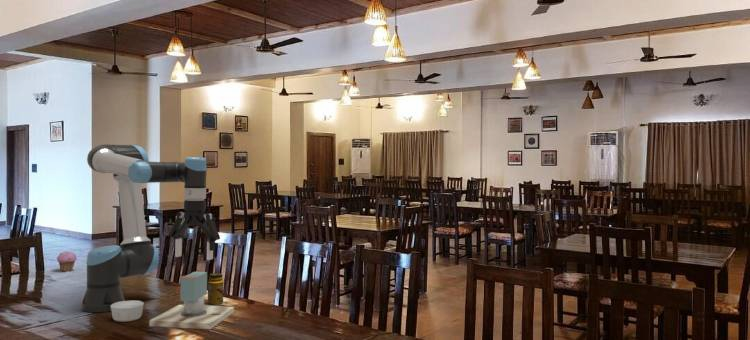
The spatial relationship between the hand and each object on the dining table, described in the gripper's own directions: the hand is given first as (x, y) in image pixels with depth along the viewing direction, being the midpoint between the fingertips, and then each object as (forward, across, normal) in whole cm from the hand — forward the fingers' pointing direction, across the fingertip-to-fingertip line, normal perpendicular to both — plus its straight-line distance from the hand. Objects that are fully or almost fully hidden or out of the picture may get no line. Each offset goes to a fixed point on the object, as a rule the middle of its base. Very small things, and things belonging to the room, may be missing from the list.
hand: (193, 258), depth 202 cm
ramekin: (+23, -22, -8) cm, 33 cm away
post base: (+22, +1, 0) cm, 22 cm away
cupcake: (+24, -114, +49) cm, 126 cm away
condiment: (+23, -6, +21) cm, 31 cm away
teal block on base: (+20, +1, 0) cm, 20 cm away
